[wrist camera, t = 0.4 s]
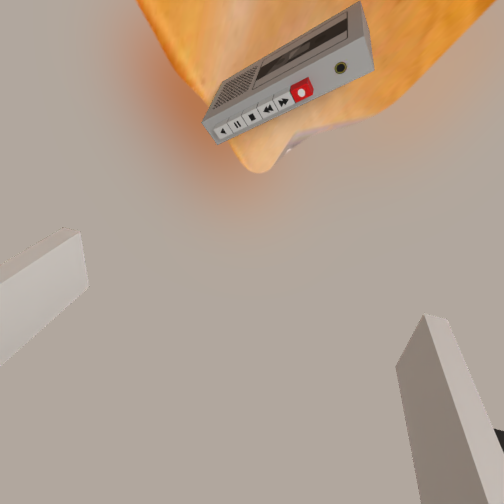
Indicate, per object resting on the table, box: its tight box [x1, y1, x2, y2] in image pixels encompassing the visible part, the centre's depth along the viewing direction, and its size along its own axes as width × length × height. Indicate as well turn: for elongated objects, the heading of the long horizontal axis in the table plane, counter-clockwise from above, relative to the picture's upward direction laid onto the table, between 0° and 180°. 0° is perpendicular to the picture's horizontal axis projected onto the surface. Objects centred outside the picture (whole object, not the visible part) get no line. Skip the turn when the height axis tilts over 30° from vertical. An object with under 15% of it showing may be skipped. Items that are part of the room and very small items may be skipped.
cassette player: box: [201, 1, 374, 145], centre depth 31 cm, size 16×3×10 cm, turn 121°
